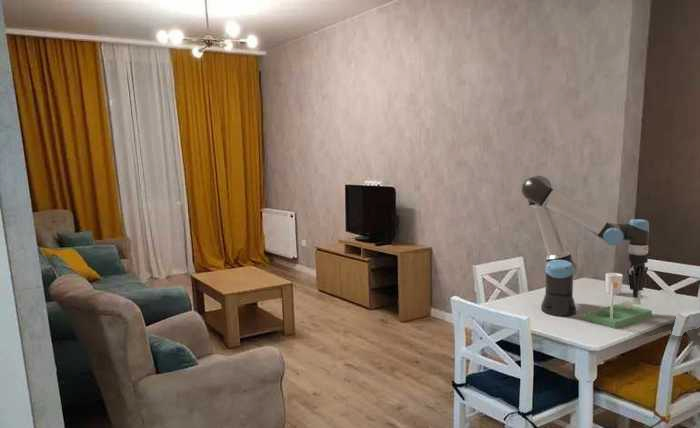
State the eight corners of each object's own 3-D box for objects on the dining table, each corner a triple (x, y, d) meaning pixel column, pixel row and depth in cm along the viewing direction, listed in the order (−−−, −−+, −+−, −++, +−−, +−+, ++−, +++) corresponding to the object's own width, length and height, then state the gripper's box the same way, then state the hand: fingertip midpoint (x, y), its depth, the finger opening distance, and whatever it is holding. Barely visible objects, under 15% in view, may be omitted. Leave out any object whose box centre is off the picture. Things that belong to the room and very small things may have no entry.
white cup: (622, 292, 249) (623, 273, 248) (621, 295, 243) (622, 276, 242) (605, 290, 253) (606, 272, 252) (604, 293, 247) (604, 275, 246)
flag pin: (611, 320, 199) (613, 284, 198) (609, 320, 200) (610, 283, 198) (616, 319, 201) (618, 282, 199) (614, 318, 202) (615, 282, 200)
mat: (614, 328, 197) (614, 322, 197) (583, 319, 210) (584, 313, 209) (651, 316, 211) (651, 310, 211) (620, 308, 223) (620, 302, 223)
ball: (623, 310, 212) (623, 301, 212) (621, 307, 216) (621, 299, 216) (633, 311, 211) (633, 302, 211) (630, 308, 215) (631, 299, 214)
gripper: (638, 256, 208) (636, 308, 210) (654, 253, 214) (652, 303, 217) (621, 254, 214) (620, 304, 217) (637, 250, 221) (636, 299, 223)
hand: (636, 303), depth 217 cm, fingers closed
